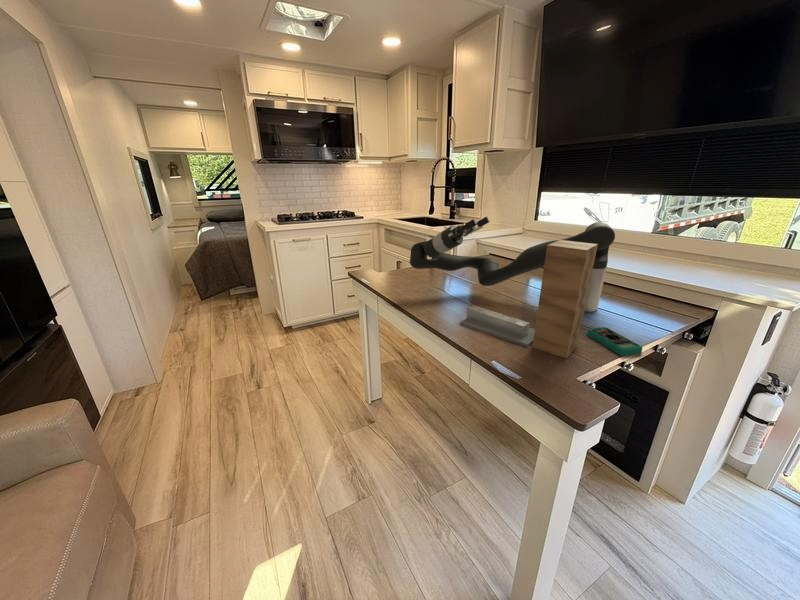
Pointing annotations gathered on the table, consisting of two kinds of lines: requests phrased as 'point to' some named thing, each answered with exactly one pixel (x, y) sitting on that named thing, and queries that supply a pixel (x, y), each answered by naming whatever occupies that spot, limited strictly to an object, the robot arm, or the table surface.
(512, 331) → the aluminium bar
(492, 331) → the rubber mat
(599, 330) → the digital multimeter
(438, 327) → the table surface
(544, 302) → the walnut stand
